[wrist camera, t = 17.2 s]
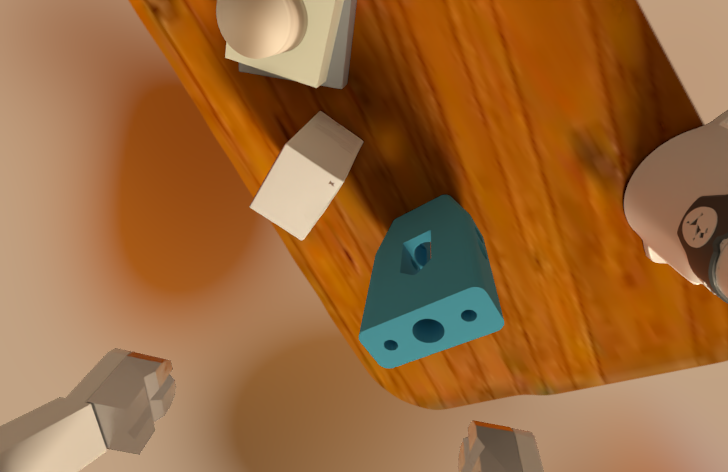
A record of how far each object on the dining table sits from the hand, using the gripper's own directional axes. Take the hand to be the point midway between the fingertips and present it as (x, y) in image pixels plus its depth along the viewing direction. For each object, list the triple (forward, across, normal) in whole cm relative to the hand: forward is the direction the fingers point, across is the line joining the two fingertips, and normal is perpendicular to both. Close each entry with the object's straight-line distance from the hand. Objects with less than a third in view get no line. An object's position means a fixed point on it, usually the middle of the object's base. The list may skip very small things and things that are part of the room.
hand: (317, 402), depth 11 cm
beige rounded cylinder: (+32, +12, -7) cm, 35 cm away
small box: (+39, +8, +7) cm, 41 cm away
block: (+39, -6, +14) cm, 42 cm away
